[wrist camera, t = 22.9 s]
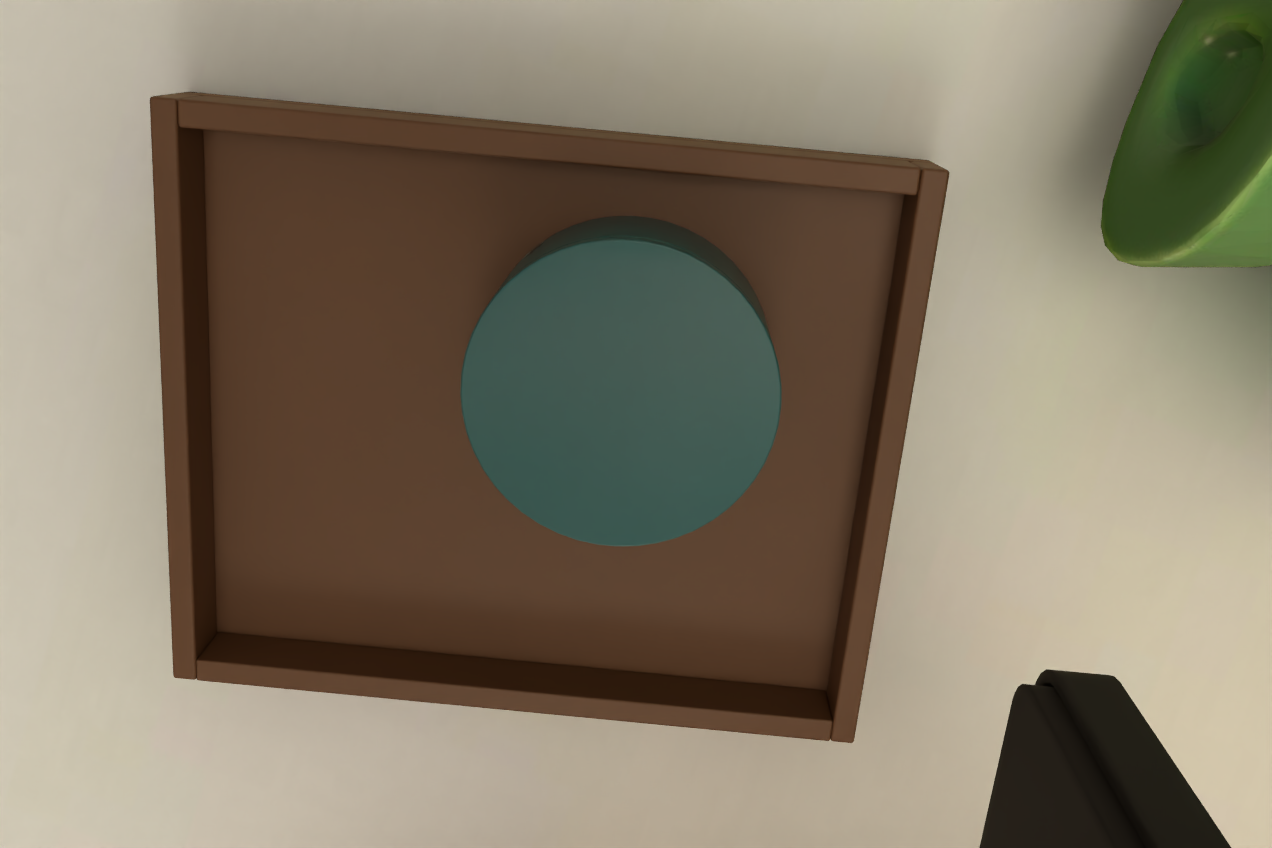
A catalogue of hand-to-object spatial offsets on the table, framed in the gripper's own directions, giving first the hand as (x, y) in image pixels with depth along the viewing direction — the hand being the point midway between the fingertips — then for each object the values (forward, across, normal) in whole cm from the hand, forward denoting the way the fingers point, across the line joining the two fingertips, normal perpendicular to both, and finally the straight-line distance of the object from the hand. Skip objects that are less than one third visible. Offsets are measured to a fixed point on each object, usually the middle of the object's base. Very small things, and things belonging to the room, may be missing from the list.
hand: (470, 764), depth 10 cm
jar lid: (+19, -1, +2) cm, 19 cm away
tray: (+19, +1, +4) cm, 20 cm away
